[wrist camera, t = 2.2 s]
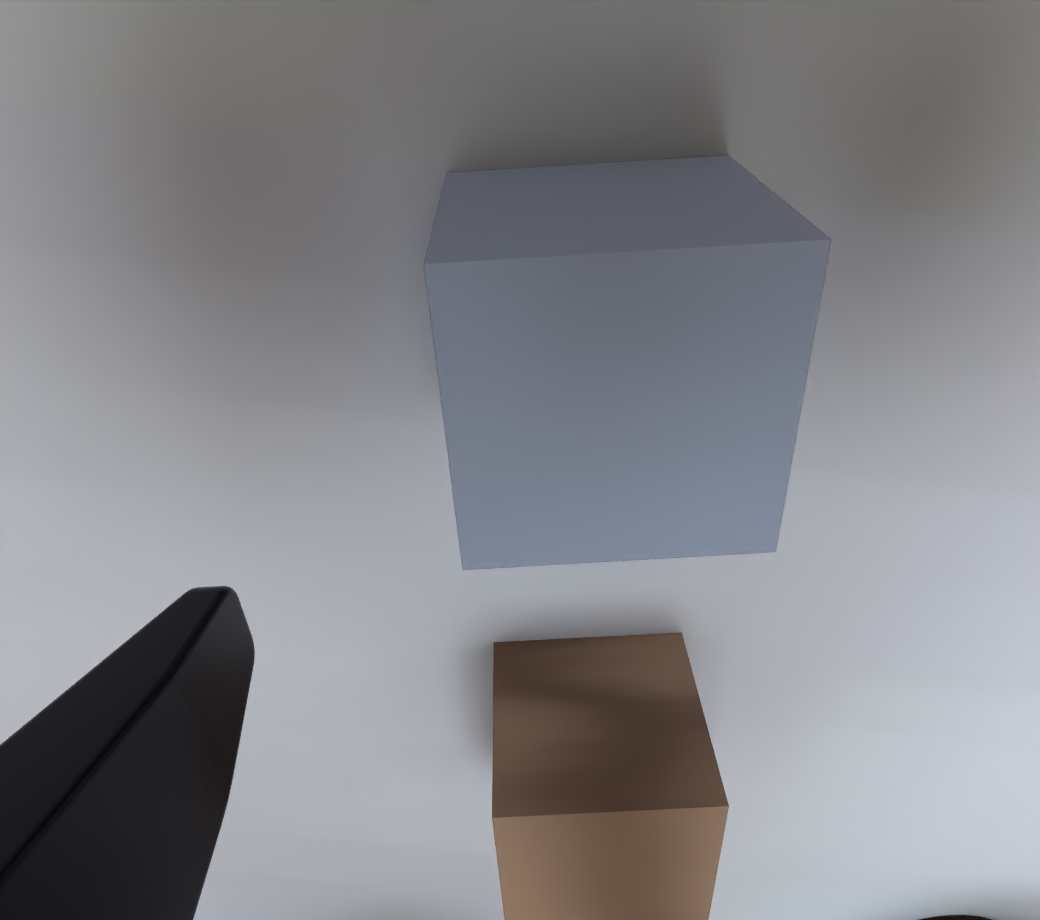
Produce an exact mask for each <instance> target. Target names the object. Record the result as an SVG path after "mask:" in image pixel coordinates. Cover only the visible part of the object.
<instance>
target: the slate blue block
mask: <svg viewBox="0 0 1040 920" xmlns="http://www.w3.org/2000/svg"><path fill="white" fill-rule="evenodd" d="M830 243H831V239H830V238H829V237H827V236H826V235H825V234H824V233H823V232H821V231H820V230H819V229H818V228H816V227H815V226H814V225H813V224H812V223H810V222H809V221H808V220H807V219H805V218H804V217H803V216H802V215H801V214H799V213H798V212H797V211H796V210H794V209H793V208H792V207H791V206H790V205H788V204H787V203H786V202H785V201H783V200H782V199H781V198H780V197H779V196H777V195H776V194H775V193H774V192H772V191H771V190H770V189H769V188H768V187H766V186H765V185H764V184H763V183H761V182H760V181H759V180H758V179H757V178H755V177H754V176H753V175H752V174H750V173H749V172H748V171H747V170H746V169H744V168H743V167H742V166H741V165H739V164H738V163H737V162H736V161H735V160H733V159H732V158H731V157H730V156H728V155H722V156H705V157H689V158H673V159H656V160H640V161H623V162H607V163H591V164H574V165H558V166H542V167H525V168H509V169H493V170H476V171H460V172H447V173H446V177H445V181H444V185H443V189H442V193H441V197H440V201H439V205H438V209H437V213H436V217H435V221H434V225H433V229H432V233H431V237H430V241H429V245H428V249H427V253H426V257H425V261H424V271H425V279H426V286H427V294H428V302H429V310H430V318H431V326H432V333H433V341H434V349H435V357H436V365H437V373H438V381H439V388H440V396H441V404H442V412H443V420H444V428H445V436H446V443H447V451H448V459H449V467H450V475H451V483H452V490H453V498H454V506H455V514H456V522H457V530H458V538H459V545H460V553H461V561H462V569H463V570H470V569H487V568H505V567H522V566H540V565H557V564H575V563H592V562H610V561H627V560H645V559H662V558H680V557H697V556H715V555H732V554H750V553H767V552H776V548H777V543H778V537H779V531H780V526H781V520H782V514H783V509H784V503H785V497H786V492H787V486H788V480H789V475H790V469H791V463H792V458H793V452H794V446H795V441H796V435H797V429H798V424H799V418H800V412H801V407H802V401H803V396H804V390H805V384H806V379H807V373H808V367H809V362H810V356H811V350H812V345H813V339H814V333H815V328H816V322H817V316H818V311H819V305H820V299H821V294H822V288H823V282H824V277H825V271H826V265H827V260H828V254H829V248H830Z"/></svg>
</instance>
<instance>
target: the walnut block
mask: <svg viewBox="0 0 1040 920" xmlns="http://www.w3.org/2000/svg"><path fill="white" fill-rule="evenodd" d="M728 808H729V805H728V802H727V798H726V794H725V791H724V787H723V783H722V780H721V776H720V772H719V769H718V765H717V761H716V758H715V754H714V750H713V747H712V743H711V739H710V735H709V732H708V728H707V724H706V721H705V717H704V713H703V710H702V706H701V702H700V699H699V695H698V691H697V688H696V684H695V680H694V677H693V673H692V669H691V666H690V662H689V658H688V655H687V651H686V647H685V644H684V640H683V636H682V633H668V634H648V635H629V636H609V637H590V638H570V639H551V640H531V641H512V642H494V674H493V785H492V820H493V828H494V837H495V845H496V853H497V861H498V869H499V877H500V885H501V893H502V901H503V910H504V918H505V920H708V918H709V913H710V907H711V902H712V896H713V891H714V885H715V880H716V874H717V868H718V863H719V857H720V852H721V846H722V841H723V835H724V830H725V824H726V819H727V813H728Z"/></svg>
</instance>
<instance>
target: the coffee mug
mask: <svg viewBox="0 0 1040 920" xmlns="http://www.w3.org/2000/svg"><path fill="white" fill-rule="evenodd" d="M923 920H990V919H986V918H981V917H973V916H944V917H934V918H928V919H923Z"/></svg>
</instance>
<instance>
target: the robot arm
mask: <svg viewBox="0 0 1040 920" xmlns="http://www.w3.org/2000/svg"><path fill="white" fill-rule="evenodd" d="M254 655H255V652H254V642H253V639H252V635H251V633H250V630H249V627H248V624H247V621H246V618H245V615H244V612H243V610H242V607H241V604H240V601H239V598H238V596H237V594H236V592H235V591H234V590H233V589H232V588H230V587H227V586H216V587H198V588H193V589H191V590H189V591H187V592H186V593H184V594H183V595H182V596H181V597H180V598H178V599H177V600H176V601H175V602H173V603H172V604H171V605H170V606H169V607H167V608H166V609H165V610H164V611H163V612H161V613H160V614H159V615H158V616H156V617H155V618H154V619H153V620H152V621H150V622H149V623H148V624H147V625H145V626H144V627H143V628H142V629H141V630H139V631H138V632H137V633H136V634H135V635H133V636H132V637H131V638H130V639H128V640H127V641H126V642H125V643H124V644H122V645H121V646H120V647H119V648H118V649H116V650H115V651H114V652H113V653H111V654H110V655H109V656H108V657H107V658H105V659H104V660H103V661H102V662H100V663H99V664H98V665H97V666H96V667H94V668H93V669H92V670H91V671H90V672H88V673H87V674H86V675H85V676H83V677H82V678H81V679H80V680H79V681H77V682H76V683H75V684H74V685H72V686H71V687H70V688H69V689H68V690H66V691H65V692H64V693H63V694H62V695H60V696H59V697H58V698H57V699H55V700H54V701H53V702H52V703H51V704H49V705H48V706H47V707H46V708H45V709H43V710H42V711H41V712H40V713H38V714H37V715H36V716H35V717H34V718H32V719H31V720H30V721H29V722H27V723H26V724H25V725H24V726H23V727H21V728H20V729H19V730H18V731H17V732H15V733H14V734H13V735H12V736H10V737H9V738H8V739H7V740H6V741H4V742H3V743H2V744H1V745H0V920H193V918H194V915H195V912H196V908H197V905H198V902H199V898H200V895H201V892H202V888H203V885H204V882H205V878H206V875H207V872H208V868H209V865H210V862H211V858H212V855H213V851H214V848H215V845H216V841H217V838H218V835H219V831H220V828H221V825H222V821H223V818H224V814H225V810H226V806H227V803H228V799H229V794H230V789H231V785H232V780H233V775H234V769H235V764H236V758H237V753H238V747H239V742H240V736H241V731H242V725H243V720H244V715H245V709H246V704H247V698H248V693H249V687H250V682H251V676H252V671H253V665H254Z"/></svg>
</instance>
